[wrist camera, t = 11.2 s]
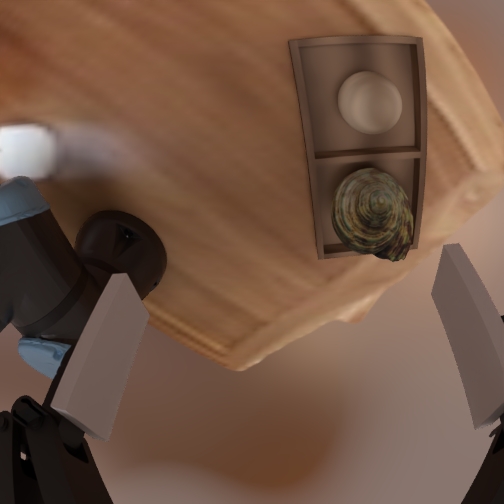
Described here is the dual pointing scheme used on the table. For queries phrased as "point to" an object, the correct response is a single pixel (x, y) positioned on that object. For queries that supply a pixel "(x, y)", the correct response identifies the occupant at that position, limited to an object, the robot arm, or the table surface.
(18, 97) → the table surface
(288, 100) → the table surface
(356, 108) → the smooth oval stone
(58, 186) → the table surface
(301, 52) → the holder
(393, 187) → the seashell
